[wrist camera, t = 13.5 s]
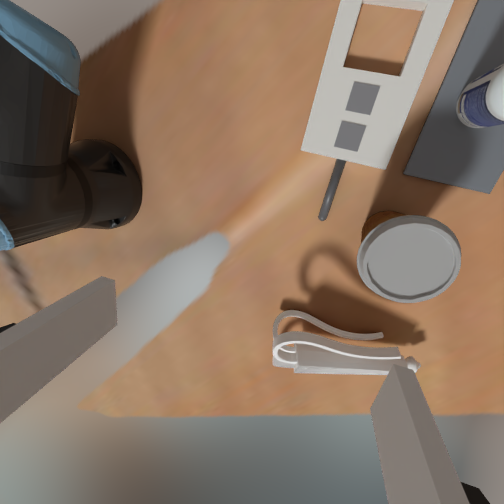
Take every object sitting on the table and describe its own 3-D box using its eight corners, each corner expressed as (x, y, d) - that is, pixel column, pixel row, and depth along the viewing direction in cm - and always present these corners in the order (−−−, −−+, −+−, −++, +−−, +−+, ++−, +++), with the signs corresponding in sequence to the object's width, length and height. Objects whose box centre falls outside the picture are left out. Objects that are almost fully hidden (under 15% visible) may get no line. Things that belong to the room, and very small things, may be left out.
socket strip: (359, 229, 37) (360, 233, 36) (285, 209, 39) (284, 212, 38) (453, -8, 27) (461, -18, 25) (347, -20, 29) (348, -30, 27)
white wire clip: (431, 293, 36) (272, 291, 38) (456, 364, 31) (272, 358, 33) (386, 328, 50) (272, 325, 52) (398, 381, 45) (272, 375, 47)
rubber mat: (402, 173, 34) (403, 174, 33) (479, -5, 26) (482, -8, 26) (487, 193, 32) (489, 193, 31) (593, 8, 25) (598, 5, 24)
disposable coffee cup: (390, 183, 34) (419, 196, 23) (440, 233, 35) (491, 268, 24) (335, 232, 38) (338, 262, 28) (380, 276, 39) (400, 322, 28)
